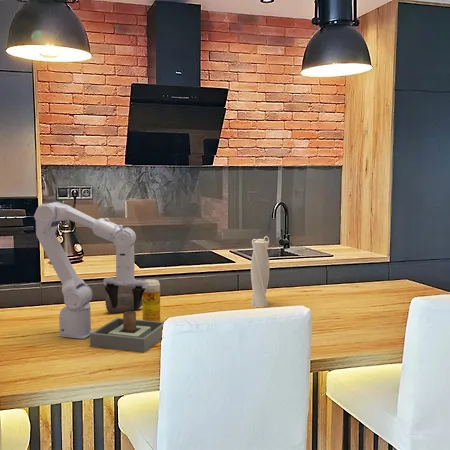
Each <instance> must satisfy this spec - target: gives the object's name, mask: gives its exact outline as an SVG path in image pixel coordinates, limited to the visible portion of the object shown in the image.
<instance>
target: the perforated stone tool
mask: <svg viewBox="0 0 450 450" xmlns="http://www.w3.org/2000/svg"><path fill="white" fill-rule="evenodd" d="M117 298H118V304H117V307H115V308H112V304H111V300H110V297H109V295H108V294H106V297H105V299H104V302H105V304H104V305H105V308H106V311H107V313H124V312H128V311H133V312H134V311H135V310H134V297H133V293H118V296H117ZM141 307H143V305H142V298H141V301H140V305H139V309H140V308H141Z"/></svg>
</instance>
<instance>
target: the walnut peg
mask: <svg viewBox="0 0 450 450" xmlns="http://www.w3.org/2000/svg"><path fill="white" fill-rule="evenodd" d="M122 318H123V332H126V333H135V332H136V320H137V312H136V311H134V310H133V311H127V312H122Z"/></svg>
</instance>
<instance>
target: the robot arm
mask: <svg viewBox="0 0 450 450" xmlns="http://www.w3.org/2000/svg"><path fill="white" fill-rule="evenodd" d="M33 218H34V220H35V236H36V238H37V239H38V242H39V243H40V245H41V247H42V249H43V252H44V253H45V254H46V256H47V259H48V260H49V262H50V264H51V266H52V268H53V270H54V271H55V273H56V275H57V277H58V279H59V280H60V282H61V285H62V287H61V294H62V295H63V302H64V305H65V306H64V307H62V308H61V309H60V312H59V314H58V315H59V317H58V320H59V321H58V324H59V325H58V326H59V334H57V335H58V337H63V338H71V339H81V340H84V339H86V338H88V337H90V333H92V332H93V331H95V330H96V329H95V330H94V329H92V326H91V325H92V324H91V323H92V322H91V318H92V317H91V304H90V301H92V299H93V296H94V294H93V290H92V288H91V286H89V285H87V284H86V282H85V280H83V279H82V278H81V277H80V276H78V274H77V273H76V270H75V269H74V267H73V265H72V263H71V261H70V259H69V257H68V256H67V253H66V252H65V250H64V247H63V246H62V244H61V242H60V241H59V239H58V237H57V235H56V232H57V229H58V227H59V225H60V223H61V222H62V221H70V222H74V223H76V224H79V225H82V226H83V227H85V228H88V229H91V230H92V233H93V234H94V236H97V237H99V238H102V239H104V240H107V241H109V242H111V243H113V245H114V246H115V250H116V251H115V272H116V273H115V275H116V276H115V277H105V278H104V279H103V285H104V286H105V287H104V290H105V292H106V293H107V295H109V297H110V300H111V304H112V308H115V307H117V304H118V298H117V296H118V294H119V287H120V286H121V287H132V289H131V292H132V294H133V297H134V310H133V311H137V310H139V309H140V308H139V305H140V301H141V298H142V295H143V293H144V291H145V289H146V288H147V287H148V281H145V280H143V279H136V278H135V242H136V241H137V235H136V232H135V231H134V230H133V229H132V228H131V227H129V226H128V227H124V225H122V224H116V223H114V222H112V221H110V220H111V219H110V218H108V217H105V218H103V217H100V218H98V219H96V218H94V217H93V216H91V215H88V214H86V213H84V212H82V211H80V210H78V209H76V208H75V207H73V206H71V205H69V204H67V203H66V204H65V203H62V202H60V201H54V202H49V203H42V204H39V206H38V207H36V210H35V213H34V215H33Z"/></svg>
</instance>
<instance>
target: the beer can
mask: <svg viewBox="0 0 450 450" xmlns="http://www.w3.org/2000/svg"><path fill="white" fill-rule="evenodd" d="M144 281H148V287H147V288H146V289H145V291H144V293H143V295H142V320H146V321H157V322H161V283H160V280H159V279H158V280H157V279H145V280H144Z"/></svg>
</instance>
